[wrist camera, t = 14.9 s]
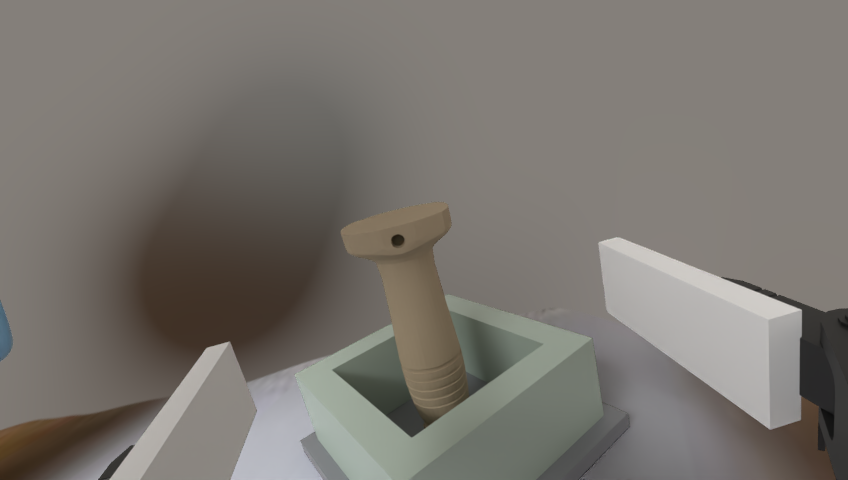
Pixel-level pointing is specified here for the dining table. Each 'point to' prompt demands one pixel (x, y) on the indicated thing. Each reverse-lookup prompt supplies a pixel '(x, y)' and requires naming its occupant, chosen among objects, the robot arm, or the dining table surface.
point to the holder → (463, 406)
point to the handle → (416, 301)
